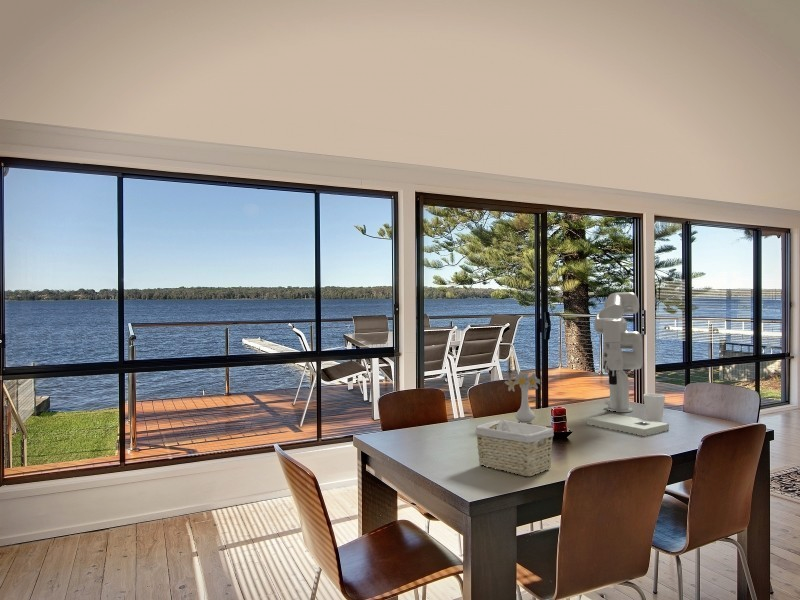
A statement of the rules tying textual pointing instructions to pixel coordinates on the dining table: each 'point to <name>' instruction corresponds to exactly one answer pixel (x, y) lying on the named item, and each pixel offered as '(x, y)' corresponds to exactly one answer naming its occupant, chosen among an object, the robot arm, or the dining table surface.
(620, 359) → the robot arm
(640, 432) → the hole board
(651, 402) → the foam cup
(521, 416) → the flower vase
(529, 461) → the storage basket
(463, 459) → the dining table surface
